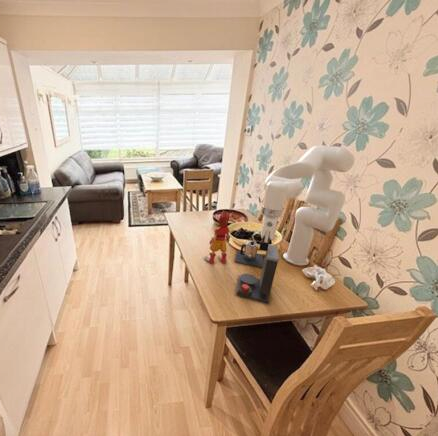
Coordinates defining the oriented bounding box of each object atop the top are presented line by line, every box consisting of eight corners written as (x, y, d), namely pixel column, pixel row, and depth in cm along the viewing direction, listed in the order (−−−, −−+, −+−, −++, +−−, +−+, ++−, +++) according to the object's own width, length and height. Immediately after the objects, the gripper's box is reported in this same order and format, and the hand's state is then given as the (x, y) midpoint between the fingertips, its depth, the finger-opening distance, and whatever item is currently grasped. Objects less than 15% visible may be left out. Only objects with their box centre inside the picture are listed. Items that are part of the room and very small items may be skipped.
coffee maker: (239, 276, 122) (240, 271, 120) (267, 283, 117) (268, 278, 115) (236, 296, 109) (237, 290, 108) (267, 304, 104) (269, 299, 103)
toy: (221, 254, 141) (227, 207, 129) (230, 262, 133) (238, 213, 121) (203, 257, 138) (208, 209, 126) (211, 266, 130) (217, 216, 118)
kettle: (240, 253, 141) (243, 236, 137) (255, 256, 138) (259, 239, 133) (238, 260, 134) (241, 243, 129) (255, 264, 130) (258, 247, 126)
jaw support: (343, 289, 108) (330, 275, 107) (324, 298, 112) (311, 285, 110) (330, 273, 119) (318, 260, 117) (313, 282, 122) (301, 270, 121)
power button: (241, 286, 111) (242, 283, 110) (248, 288, 110) (249, 285, 109) (241, 290, 108) (241, 287, 108) (248, 292, 107) (248, 289, 106)
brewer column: (240, 272, 120) (246, 239, 112) (269, 279, 115) (277, 245, 107) (238, 287, 110) (244, 252, 102) (269, 295, 105) (278, 259, 97)
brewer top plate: (237, 250, 145) (237, 249, 145) (262, 255, 140) (263, 254, 139) (235, 262, 133) (235, 261, 133) (262, 268, 128) (262, 267, 128)
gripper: (282, 219, 91) (272, 260, 98) (281, 207, 103) (272, 243, 110) (261, 216, 93) (252, 256, 101) (262, 204, 106) (254, 240, 113)
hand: (263, 249), depth 106 cm, fingers closed
